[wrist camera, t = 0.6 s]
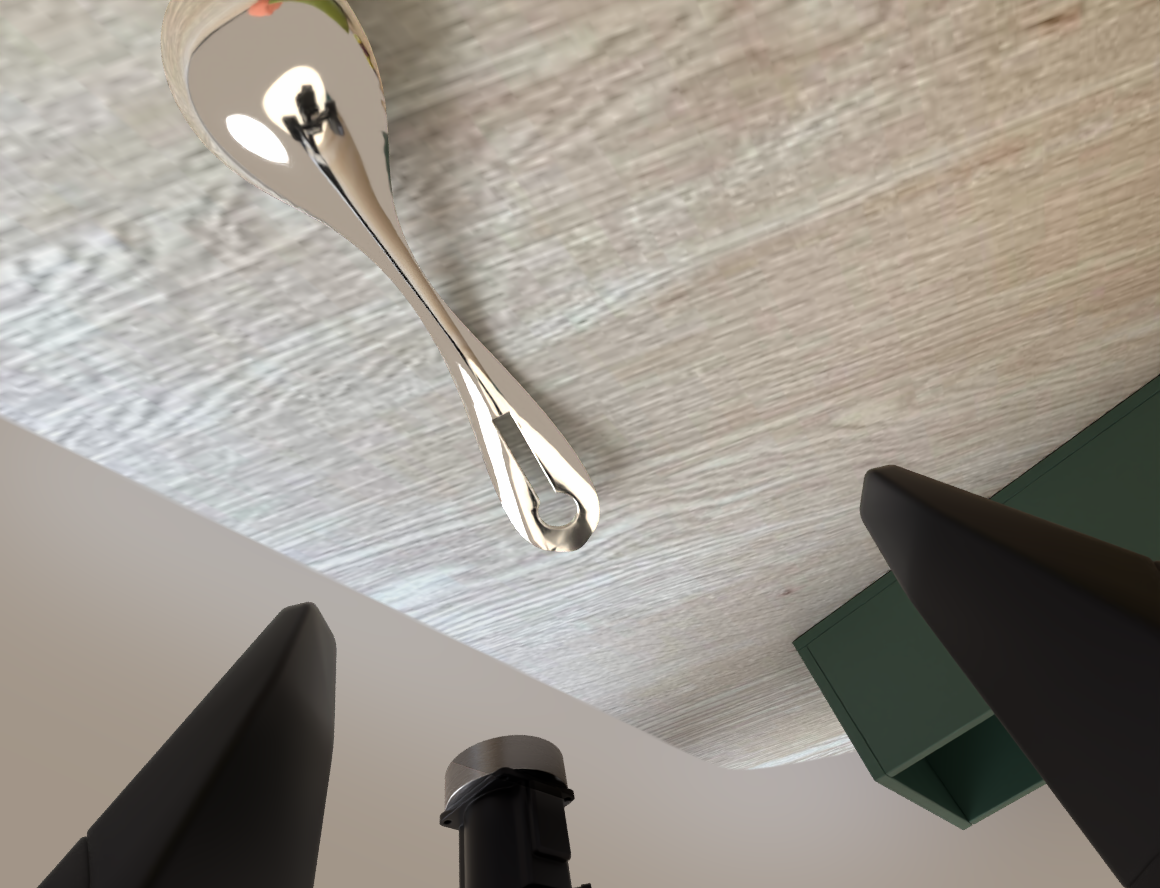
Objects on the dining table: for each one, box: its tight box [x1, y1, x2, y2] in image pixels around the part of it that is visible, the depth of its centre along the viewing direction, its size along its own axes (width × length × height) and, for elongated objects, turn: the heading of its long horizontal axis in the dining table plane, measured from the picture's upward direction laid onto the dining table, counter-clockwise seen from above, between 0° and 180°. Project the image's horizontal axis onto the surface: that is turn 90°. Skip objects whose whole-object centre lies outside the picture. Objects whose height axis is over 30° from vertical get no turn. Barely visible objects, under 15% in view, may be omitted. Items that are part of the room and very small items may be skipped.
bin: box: [793, 375, 1160, 830], centre depth 29 cm, size 23×10×8 cm, turn 135°
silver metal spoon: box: [161, 0, 600, 552], centre depth 18 cm, size 20×4×5 cm
